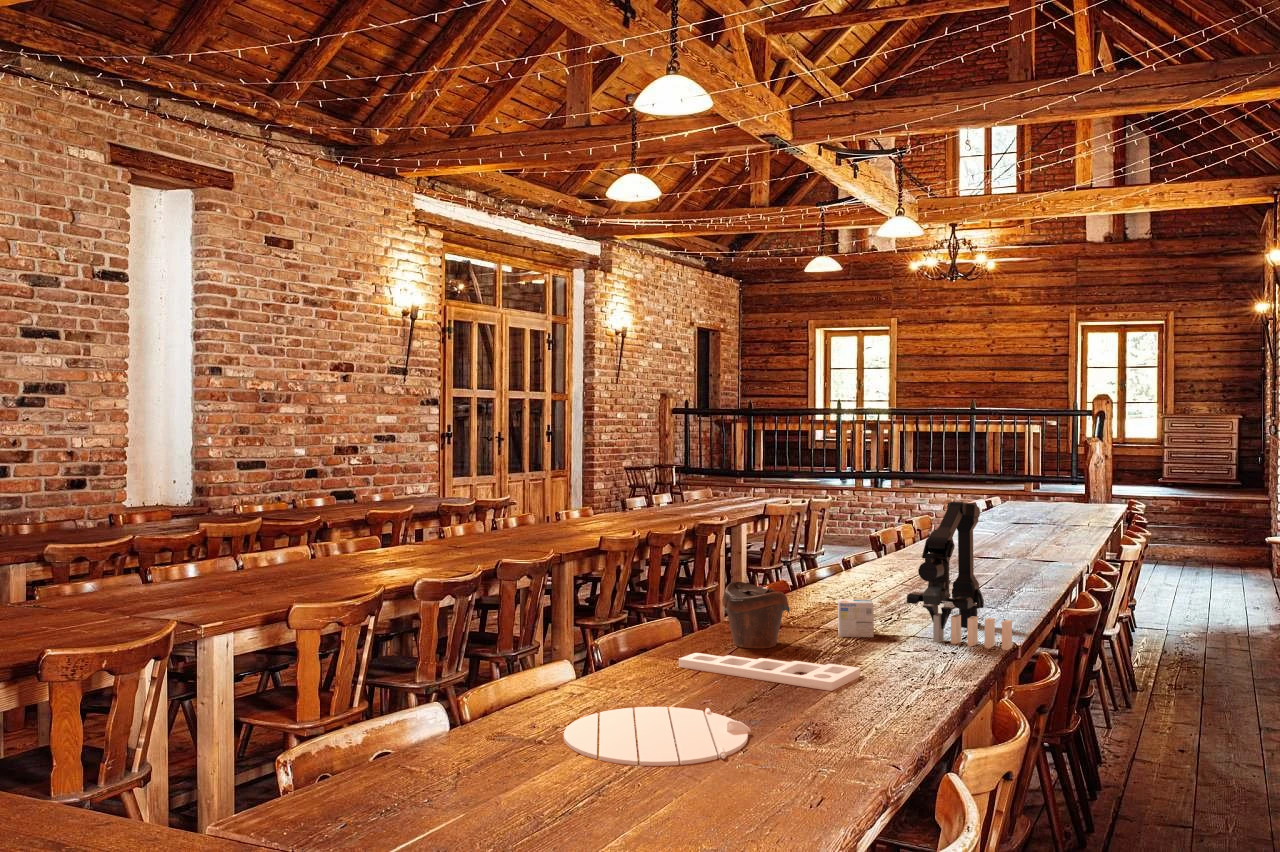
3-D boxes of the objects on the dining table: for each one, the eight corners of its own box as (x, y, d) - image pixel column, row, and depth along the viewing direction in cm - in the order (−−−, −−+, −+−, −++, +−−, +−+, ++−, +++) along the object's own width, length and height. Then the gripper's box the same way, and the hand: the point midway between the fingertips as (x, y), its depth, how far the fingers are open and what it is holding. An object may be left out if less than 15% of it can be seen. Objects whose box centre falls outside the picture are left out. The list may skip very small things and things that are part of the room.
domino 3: (972, 642, 321) (972, 616, 321) (977, 643, 320) (977, 616, 320) (967, 645, 317) (967, 618, 317) (972, 646, 316) (972, 619, 316)
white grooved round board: (739, 710, 250) (739, 696, 250) (764, 766, 211) (764, 748, 211) (567, 712, 248) (567, 697, 248) (560, 769, 209) (559, 751, 209)
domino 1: (938, 639, 326) (938, 613, 326) (943, 640, 325) (943, 613, 325) (933, 642, 322) (933, 615, 322) (938, 642, 321) (938, 615, 321)
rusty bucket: (788, 652, 308) (787, 589, 308) (718, 649, 312) (718, 588, 312) (791, 640, 326) (791, 581, 326) (726, 638, 330) (725, 579, 330)
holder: (678, 668, 291) (678, 658, 291) (712, 656, 306) (712, 646, 306) (831, 693, 266) (831, 682, 266) (860, 678, 281) (860, 667, 281)
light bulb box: (871, 633, 335) (871, 598, 335) (874, 637, 328) (874, 602, 328) (837, 632, 336) (837, 598, 336) (838, 637, 329) (838, 602, 329)
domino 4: (989, 644, 318) (989, 617, 318) (994, 645, 317) (994, 618, 317) (984, 647, 314) (984, 620, 314) (990, 648, 313) (990, 620, 313)
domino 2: (955, 640, 324) (955, 614, 323) (960, 641, 323) (961, 614, 323) (950, 643, 320) (950, 616, 320) (956, 644, 319) (956, 617, 319)
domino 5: (1006, 646, 315) (1006, 619, 315) (1011, 647, 314) (1011, 620, 314) (1001, 649, 311) (1001, 622, 311) (1007, 650, 310) (1007, 622, 310)
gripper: (899, 577, 323) (899, 629, 323) (961, 583, 312) (961, 637, 312) (913, 573, 332) (913, 623, 332) (973, 578, 321) (973, 630, 321)
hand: (939, 628), depth 324 cm, fingers closed on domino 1, 2 cm apart
